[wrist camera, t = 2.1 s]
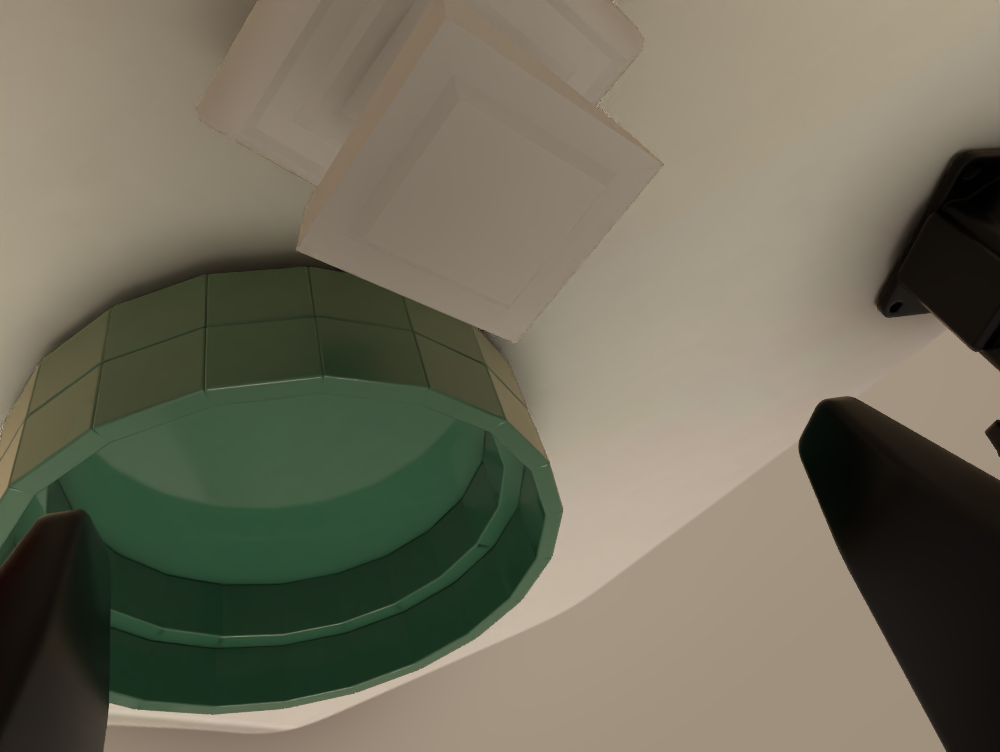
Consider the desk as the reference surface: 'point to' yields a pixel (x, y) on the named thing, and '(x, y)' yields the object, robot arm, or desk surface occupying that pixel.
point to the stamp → (442, 140)
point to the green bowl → (284, 485)
